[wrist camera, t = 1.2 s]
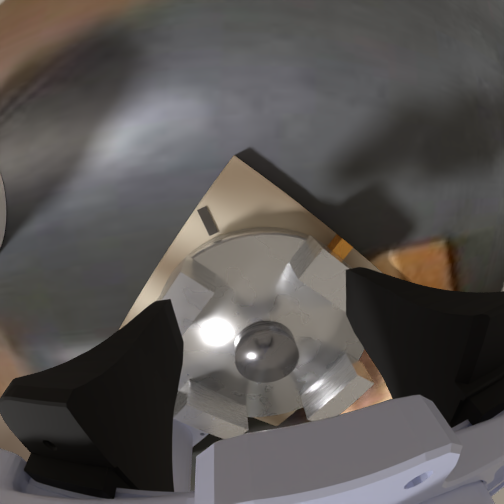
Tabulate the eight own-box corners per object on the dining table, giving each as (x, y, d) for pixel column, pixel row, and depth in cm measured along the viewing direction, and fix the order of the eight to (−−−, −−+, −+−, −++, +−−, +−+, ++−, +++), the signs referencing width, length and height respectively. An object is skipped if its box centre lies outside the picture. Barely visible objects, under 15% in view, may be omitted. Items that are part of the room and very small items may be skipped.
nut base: (275, 418, 26) (277, 427, 25) (113, 339, 22) (109, 346, 21) (402, 290, 23) (408, 296, 22) (233, 155, 18) (234, 155, 17)
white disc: (275, 419, 25) (282, 457, 20) (124, 346, 21) (107, 385, 17) (403, 291, 21) (433, 319, 17) (247, 165, 17) (254, 169, 13)
